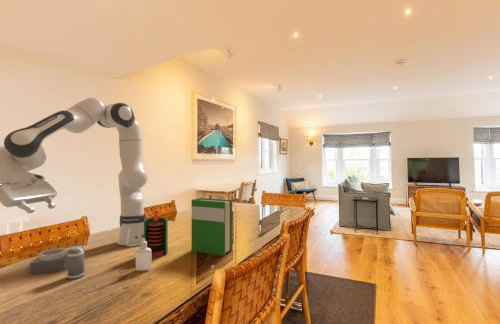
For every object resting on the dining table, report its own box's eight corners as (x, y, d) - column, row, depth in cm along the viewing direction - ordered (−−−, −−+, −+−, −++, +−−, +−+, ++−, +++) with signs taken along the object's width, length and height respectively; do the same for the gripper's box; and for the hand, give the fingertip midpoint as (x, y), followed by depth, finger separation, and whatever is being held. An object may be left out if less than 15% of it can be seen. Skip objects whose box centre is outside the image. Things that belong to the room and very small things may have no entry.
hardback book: (232, 251, 124) (232, 199, 124) (224, 256, 117) (224, 201, 117) (200, 246, 131) (200, 197, 131) (191, 250, 124) (191, 199, 124)
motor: (144, 259, 114) (144, 212, 114) (142, 252, 122) (142, 209, 122) (169, 255, 119) (168, 210, 119) (165, 249, 126) (165, 207, 126)
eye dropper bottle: (145, 272, 100) (145, 240, 100) (133, 270, 102) (133, 239, 102) (153, 268, 104) (153, 237, 104) (142, 266, 106) (142, 236, 106)
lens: (85, 272, 100) (85, 245, 100) (82, 278, 95) (81, 250, 95) (70, 274, 98) (70, 247, 98) (65, 280, 93) (65, 251, 93)
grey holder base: (73, 260, 113) (73, 245, 113) (64, 270, 102) (64, 253, 102) (42, 263, 109) (42, 248, 109) (29, 274, 99) (29, 257, 99)
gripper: (-5, 178, 87) (23, 208, 87) (46, 175, 108) (69, 200, 107) (-18, 191, 88) (10, 221, 87) (35, 186, 108) (58, 210, 107)
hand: (43, 209), depth 97 cm, fingers open, 8 cm apart
